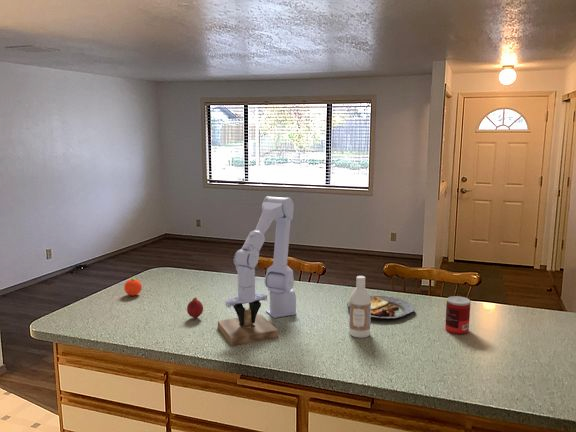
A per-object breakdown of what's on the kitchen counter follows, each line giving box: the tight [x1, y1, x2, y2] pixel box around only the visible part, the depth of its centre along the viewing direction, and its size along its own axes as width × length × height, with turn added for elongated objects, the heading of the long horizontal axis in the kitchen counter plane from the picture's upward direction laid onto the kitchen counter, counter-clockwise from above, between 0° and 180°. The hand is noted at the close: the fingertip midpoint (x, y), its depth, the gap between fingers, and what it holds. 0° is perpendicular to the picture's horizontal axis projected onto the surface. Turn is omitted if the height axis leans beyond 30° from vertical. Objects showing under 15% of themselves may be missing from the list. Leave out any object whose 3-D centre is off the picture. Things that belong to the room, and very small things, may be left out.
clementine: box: [124, 278, 143, 296], centre depth 210 cm, size 8×7×7 cm
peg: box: [243, 307, 252, 329], centre depth 171 cm, size 3×3×8 cm
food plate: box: [347, 294, 416, 320], centre depth 191 cm, size 25×23×4 cm
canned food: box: [444, 295, 471, 336], centre depth 171 cm, size 8×8×11 cm
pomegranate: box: [186, 296, 204, 319], centre depth 183 cm, size 6×6×8 cm
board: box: [217, 313, 279, 347], centre depth 171 cm, size 16×16×2 cm
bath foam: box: [348, 275, 372, 339], centre depth 167 cm, size 7×7×20 cm
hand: (247, 323), depth 170 cm, fingers closed on peg, 3 cm apart
